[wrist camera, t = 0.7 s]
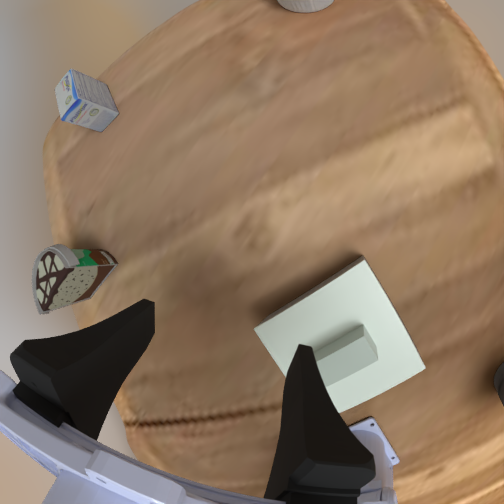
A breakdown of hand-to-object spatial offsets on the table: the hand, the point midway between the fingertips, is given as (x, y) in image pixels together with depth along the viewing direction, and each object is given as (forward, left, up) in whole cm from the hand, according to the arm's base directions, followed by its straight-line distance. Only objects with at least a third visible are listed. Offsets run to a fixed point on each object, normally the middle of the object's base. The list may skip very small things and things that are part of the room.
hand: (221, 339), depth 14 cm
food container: (+17, +25, -18) cm, 35 cm away
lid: (-8, -1, -14) cm, 16 cm away
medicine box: (+37, +10, -18) cm, 43 cm away
